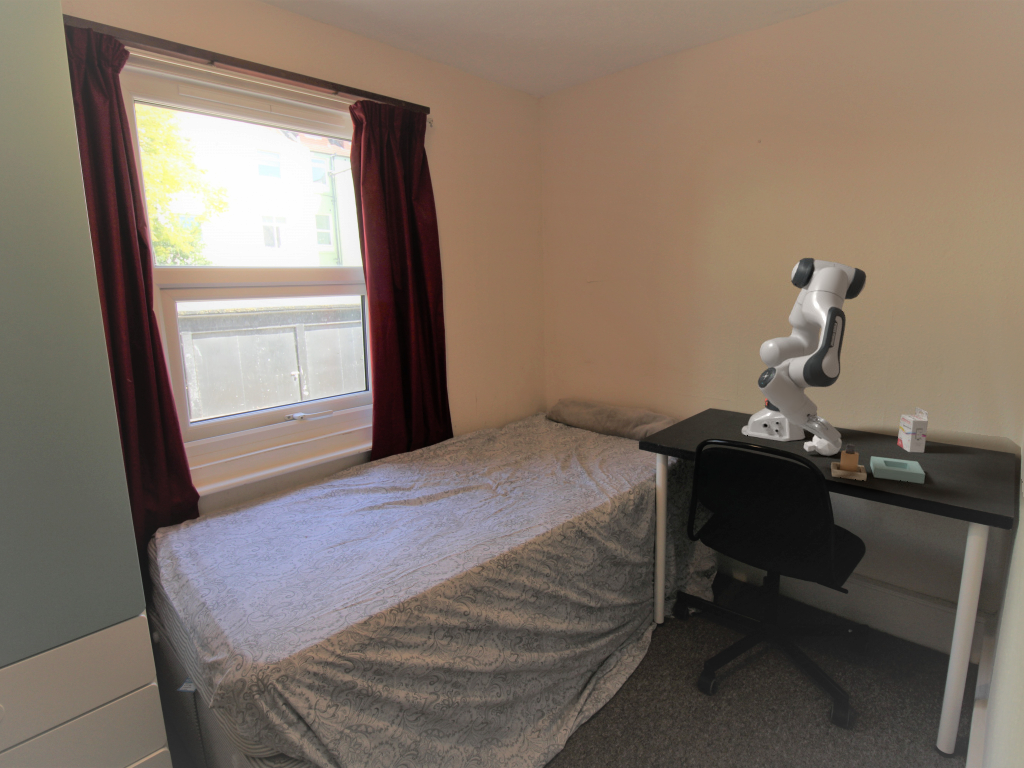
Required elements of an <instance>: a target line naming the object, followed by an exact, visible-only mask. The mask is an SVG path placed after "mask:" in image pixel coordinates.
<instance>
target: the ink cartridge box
mask: <svg viewBox="0 0 1024 768" xmlns="http://www.w3.org/2000/svg"><path fill="white" fill-rule="evenodd" d="M928 423H929V412H928V411H926V410H924V409H922V408H920V407H917V406H915V413H914V414H900V420H899V429H898V435H897V437H898V438H897V446H899V447H900V448H902V449H903V450H905V451H907V452H908V453H923V454H924V452H925V447H926V439H927V430H928Z"/></svg>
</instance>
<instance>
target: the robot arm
mask: <svg viewBox="0 0 1024 768" xmlns="http://www.w3.org/2000/svg"><path fill="white" fill-rule="evenodd" d="M790 275H791V284H792V285H793V287H796V288H797V289H800V291H799V293H798V296H797V298H796V300H795V302H794V304H793V307H792V309H791V312H790V314H789V316H788V323H789V324H790V326H792V330H791V334H790V335H788V336H781V337H774V338H770V339H767V340H765V341H764V342H762V343H761V346H760V348H759V357H760V359H761V362H763V363H764V364H765V365H766V367H768V368H766V369H765V370H764V371H763V372H762V373H761V374H760V376H759V377H758V380H757V386H758V388H759V390H760V392H761V394H762V395H763V396H764V397H765V399H764V402H765V403H764V408H762V409H760V410H759V411H757V412H755V413H753V414H752V415H751V416H750V417H749V420H748V422H747V425H743V427H741V434H742V435H745V436H747V435H748V437H752V438H754V437H755V438H760V439H765V440H771V441H773V440H774V441H779V442H789V441H790V442H791V441H798V440H804V439H805V438H806V436H805V431H808V432H810V433H811V434H813V435H816V436H817V437H818V438H819V439H822V438H823V439H825V440H826V441H828V442H830V443H831V444H832V445H834V446H835V447H836V448H839V447H840V446H841V447H842V446H843V444H842V443H840V442H839V440H838V439H839V438H840V439H841V438H842V434H841V433H840V432H839V431H838V429H836V427H834V426H833V425H832V423H830V422H829V421H827V420H826V419H825V418H824V417H821V416H819V415H818V413H817V412H818V406H817V405H816V404H815V402H813V400H812V399H811V398H809V396H808V395H807V394H805V390H806V389H807V388H829V387H830V386H832V385H834V384H835V383H836V382H837V380H838V379H839V377H840V374H841V353H842V347H843V342H844V336H845V329H846V321H847V320H846V318H847V317H846V315H845V311H843V307H844V306H843V305H844V303H845V300H853V299H855V298H857V297H858V296H859V295H860V294H861V293H862V292H863V291H864V288H865V287H866V284H867V283H866V282H867V275H866V272H865V271H864V270H862V269H860V268H857V267H852V266H849V265H846V264H843V263H841V262H836V261H828V260H823V259H822V260H821V259H814V258H813V257H804V258H801V259H800V260H799V261H798V262H797V263H795V265H794V267H793V268H792V271H791V273H790ZM804 430H805V431H804Z"/></svg>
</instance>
